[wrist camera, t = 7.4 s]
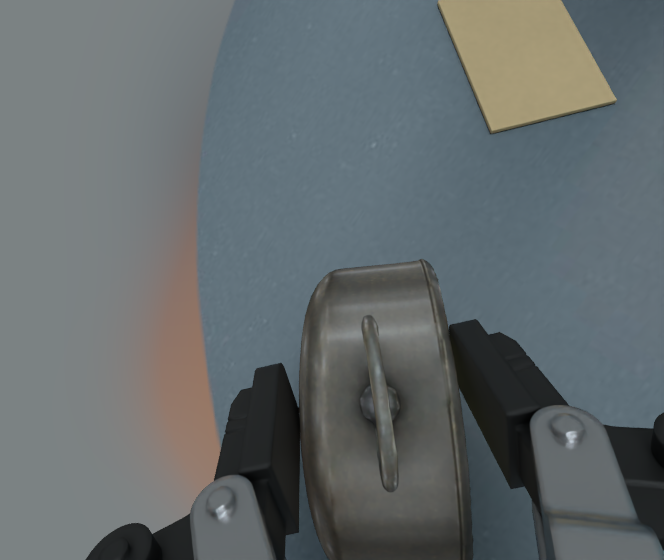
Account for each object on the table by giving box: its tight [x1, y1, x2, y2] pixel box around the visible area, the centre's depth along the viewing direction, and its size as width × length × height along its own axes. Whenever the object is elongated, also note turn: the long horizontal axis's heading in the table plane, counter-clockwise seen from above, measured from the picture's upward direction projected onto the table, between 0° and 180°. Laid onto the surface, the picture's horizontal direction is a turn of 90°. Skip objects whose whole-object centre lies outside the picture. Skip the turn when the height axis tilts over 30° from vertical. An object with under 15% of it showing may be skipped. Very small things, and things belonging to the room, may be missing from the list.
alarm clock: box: [298, 259, 473, 560], centre depth 14 cm, size 11×5×16 cm, turn 2°
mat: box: [437, 0, 617, 134], centre depth 28 cm, size 8×12×1 cm, turn 12°
